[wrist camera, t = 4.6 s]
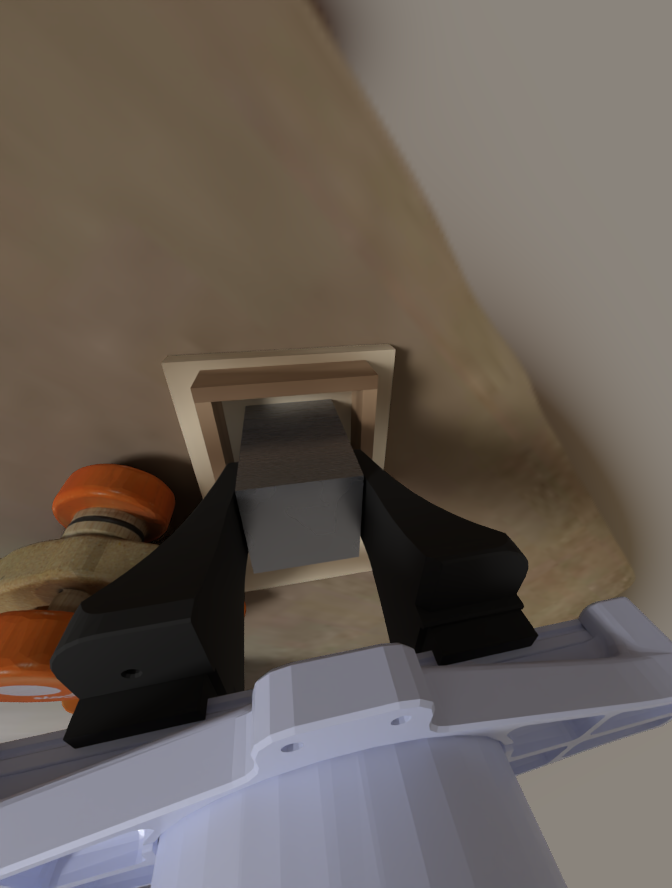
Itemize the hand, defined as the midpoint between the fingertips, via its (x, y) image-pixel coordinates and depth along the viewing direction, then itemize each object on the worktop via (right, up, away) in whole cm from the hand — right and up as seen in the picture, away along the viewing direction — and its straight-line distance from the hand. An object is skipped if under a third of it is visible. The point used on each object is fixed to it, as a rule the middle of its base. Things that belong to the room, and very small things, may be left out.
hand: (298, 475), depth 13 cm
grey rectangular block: (-1, +2, +3) cm, 3 cm away
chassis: (-1, -1, +6) cm, 6 cm away
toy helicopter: (-15, -4, 0) cm, 16 cm away
